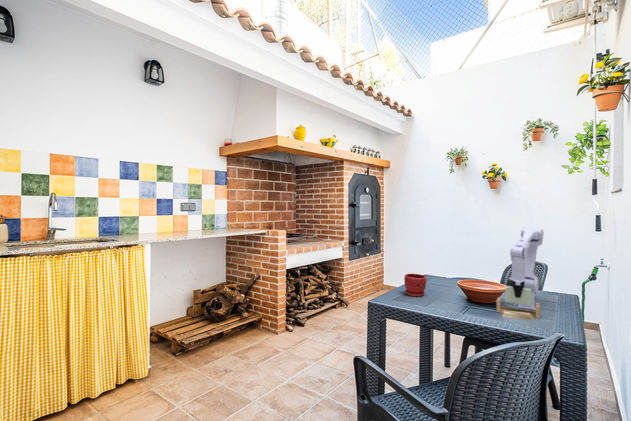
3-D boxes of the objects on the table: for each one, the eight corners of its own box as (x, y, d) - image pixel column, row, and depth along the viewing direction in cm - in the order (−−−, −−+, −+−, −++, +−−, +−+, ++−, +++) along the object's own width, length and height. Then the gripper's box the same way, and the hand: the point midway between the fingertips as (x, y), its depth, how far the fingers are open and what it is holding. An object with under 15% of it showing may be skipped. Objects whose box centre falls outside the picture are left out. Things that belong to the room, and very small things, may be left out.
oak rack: (497, 308, 176) (497, 297, 176) (539, 314, 166) (539, 303, 166) (496, 311, 170) (496, 300, 170) (539, 318, 160) (539, 306, 160)
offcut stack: (501, 315, 166) (501, 310, 166) (531, 318, 161) (531, 313, 161) (503, 317, 163) (503, 312, 163) (533, 321, 158) (533, 315, 158)
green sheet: (505, 299, 173) (505, 285, 173) (530, 303, 167) (530, 288, 167) (505, 301, 169) (505, 287, 169) (530, 305, 163) (530, 290, 163)
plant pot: (402, 296, 199) (403, 276, 198) (405, 291, 211) (405, 272, 210) (425, 298, 194) (425, 278, 193) (427, 293, 206) (427, 274, 205)
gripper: (509, 267, 176) (509, 292, 176) (508, 271, 164) (508, 298, 164) (525, 268, 172) (524, 294, 173) (525, 273, 160) (525, 300, 160)
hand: (517, 296), depth 168 cm, fingers closed on green sheet, 4 cm apart
